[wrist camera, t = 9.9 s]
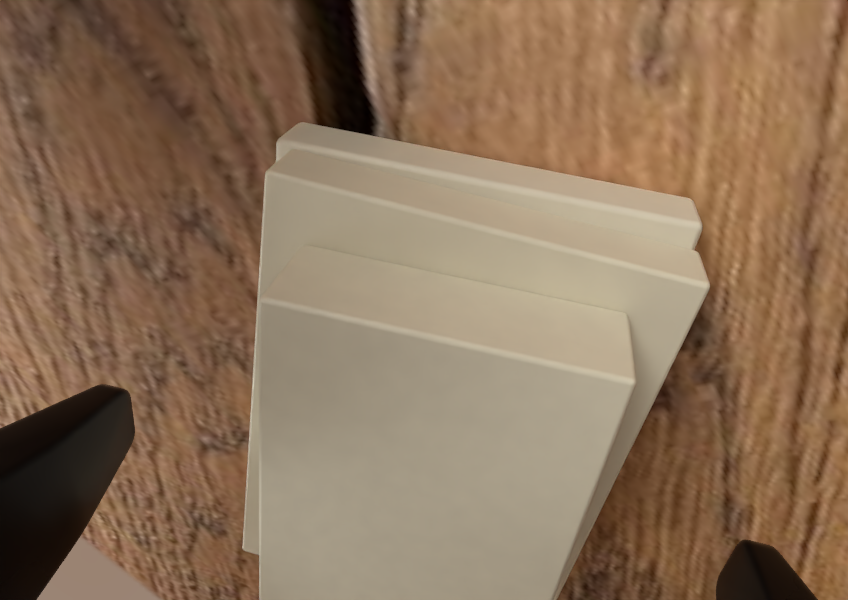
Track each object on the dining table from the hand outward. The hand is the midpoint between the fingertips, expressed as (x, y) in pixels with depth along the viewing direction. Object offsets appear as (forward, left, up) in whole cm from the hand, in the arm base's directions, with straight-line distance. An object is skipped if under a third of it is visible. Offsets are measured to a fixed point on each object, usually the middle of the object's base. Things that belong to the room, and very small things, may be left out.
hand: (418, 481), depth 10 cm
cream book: (0, 0, -1) cm, 1 cm away
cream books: (0, 0, -3) cm, 3 cm away
